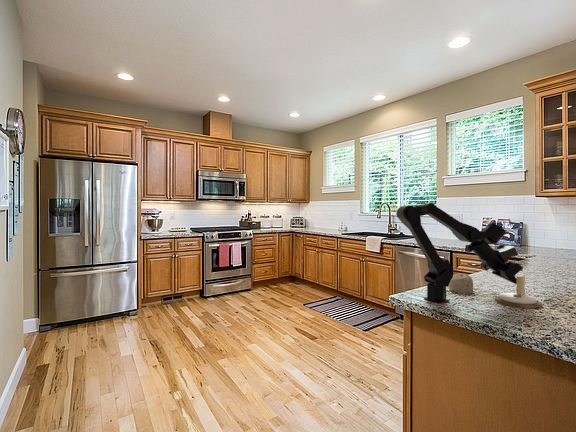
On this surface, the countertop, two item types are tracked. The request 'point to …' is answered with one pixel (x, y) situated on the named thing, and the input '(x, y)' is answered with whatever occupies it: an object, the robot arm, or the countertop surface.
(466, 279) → the sponge
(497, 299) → the base
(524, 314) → the countertop surface
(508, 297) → the dial
